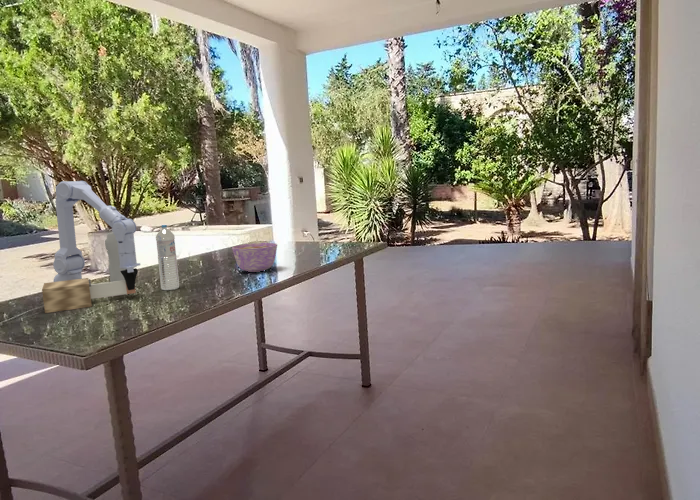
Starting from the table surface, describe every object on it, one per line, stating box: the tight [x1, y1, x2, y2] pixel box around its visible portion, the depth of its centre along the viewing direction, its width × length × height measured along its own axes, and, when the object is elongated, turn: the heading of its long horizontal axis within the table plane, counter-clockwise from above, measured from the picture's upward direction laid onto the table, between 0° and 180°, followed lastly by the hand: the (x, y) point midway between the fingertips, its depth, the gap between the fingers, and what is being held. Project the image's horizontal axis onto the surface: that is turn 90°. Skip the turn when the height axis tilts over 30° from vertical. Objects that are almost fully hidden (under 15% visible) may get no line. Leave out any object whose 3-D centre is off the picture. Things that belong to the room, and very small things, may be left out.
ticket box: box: [41, 277, 93, 314], centre depth 183 cm, size 15×14×8 cm
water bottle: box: [155, 224, 180, 291], centre depth 202 cm, size 7×7×25 cm
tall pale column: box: [104, 231, 125, 282], centre depth 223 cm, size 11×4×22 cm, turn 86°
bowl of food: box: [231, 242, 278, 273], centre depth 233 cm, size 20×20×12 cm
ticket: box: [89, 280, 137, 300], centre depth 188 cm, size 19×1×5 cm, turn 117°
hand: (131, 289), depth 192 cm, fingers closed on ticket
